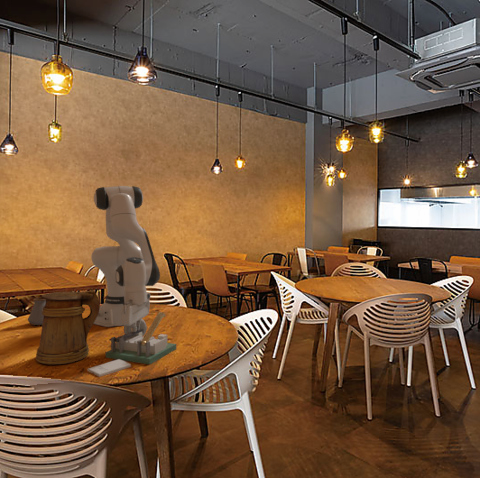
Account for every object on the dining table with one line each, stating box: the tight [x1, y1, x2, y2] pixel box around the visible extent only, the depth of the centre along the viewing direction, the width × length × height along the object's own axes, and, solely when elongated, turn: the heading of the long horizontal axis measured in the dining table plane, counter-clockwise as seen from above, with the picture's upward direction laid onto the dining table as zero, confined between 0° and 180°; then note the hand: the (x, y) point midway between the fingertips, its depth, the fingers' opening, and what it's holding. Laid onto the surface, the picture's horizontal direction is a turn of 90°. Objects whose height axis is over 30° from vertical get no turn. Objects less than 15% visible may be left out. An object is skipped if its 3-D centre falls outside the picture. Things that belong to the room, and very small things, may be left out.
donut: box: [123, 318, 148, 337], centre depth 179 cm, size 10×3×10 cm, turn 115°
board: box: [105, 332, 177, 365], centre depth 162 cm, size 20×19×8 cm
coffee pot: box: [27, 291, 73, 326], centre depth 208 cm, size 21×12×15 cm, turn 126°
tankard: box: [35, 289, 101, 365], centre depth 158 cm, size 18×24×25 cm
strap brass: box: [140, 311, 166, 346], centre depth 158 cm, size 2×16×2 cm
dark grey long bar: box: [114, 329, 144, 342], centre depth 164 cm, size 2×16×2 cm, turn 158°
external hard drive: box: [87, 359, 132, 378], centre depth 145 cm, size 2×8×12 cm
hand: (135, 331), depth 168 cm, fingers closed, pressing on dark grey long bar
